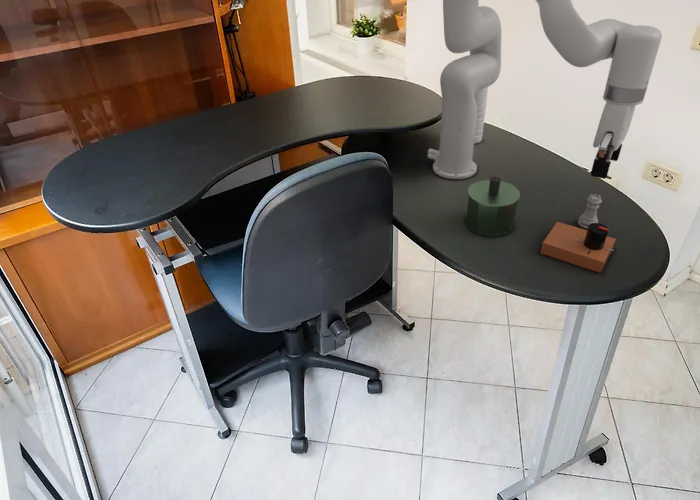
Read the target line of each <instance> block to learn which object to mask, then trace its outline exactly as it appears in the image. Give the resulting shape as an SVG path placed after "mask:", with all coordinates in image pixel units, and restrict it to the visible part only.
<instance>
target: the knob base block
mask: <svg viewBox="0 0 700 500" xmlns="http://www.w3.org/2000/svg"><path fill="white" fill-rule="evenodd" d="M587 230H588V229H584V228H582V227H577V226H575V225H571V224H567V223H563V222H560V221H557V222H555V224H554V225H553V227H552V229H551V230H550V232H549V233H547V236H546V237H545V239H544V240H543V241H542V243H541V249H540V254H542V255H545V256H548V257H550V258H554V259H557V260H558V261H559V260H560V261H563V262H566V263H568V264H572V265H575V266H578V267H581V268H583V269H587V270H590V271H593V272H596V273H599V274H601V273H602V271H603V269H604V267H605V265H606V264H607V262H608V259H609V258H610V255H611V254H612V252H614V247H615V244H616V241H617V238H614V237H611V236H608V235H607V237H606V240H605V243H604V247H603V248H602V249H601V250H592V249H589V248H587V247H586V246H585V245H584V240H585V237H586V233H587Z"/></svg>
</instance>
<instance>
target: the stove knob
mask: <svg viewBox="0 0 700 500" xmlns="http://www.w3.org/2000/svg"><path fill="white" fill-rule="evenodd" d="M586 230H587V233H586V237H585V240H584V245H585V246H586V247H587V248H589V249H592V250H601V249H602V248H603V247H604V243H605V240H606V237H607V236H608V235H609V230H610V229H609V227H608V226H607V225H605V224H604V223H600V222H598V223H592V224H590V225H589V226H588V229H586Z"/></svg>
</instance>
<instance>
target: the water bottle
mask: <svg viewBox="0 0 700 500" xmlns="http://www.w3.org/2000/svg"><path fill="white" fill-rule="evenodd" d="M488 91H489V86H488V87H486V88H484V89H482V90H479V91H477V92H475V94H474V98H475V102H476V105H477V121H476V130H475V139H474V145H475V144H479V143H481V142H482V140H483V132H484V126H485V118H486V117H485V115H486V108H487V99H488Z"/></svg>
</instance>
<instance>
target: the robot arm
mask: <svg viewBox="0 0 700 500" xmlns="http://www.w3.org/2000/svg"><path fill="white" fill-rule="evenodd" d="M479 1H480V0H442V13H443V15H442V18H443V36H444V43H445V47H446V49H447V50H448V51H449V52H450V53H453V54H464V53H467V52H469V55H468V54H467V55H464V56H462V57H459V58H457V59H454V60H452V61H451V62H449V63H448V64H446V65H445V66H444V68H443V69H442V70H441V73H440V76H439V77H440V78H439V86H440V93H441V120H440V121H441V122H440V132H439V133H440V134H439V135H440V136H439V149H438V150H436V149H434V148H428V150H427V159H430V160H434V162H433V164H432V170H433V172H434V173H435V174H436V175H437V176H439V177H441V178H444V179H447V180H448V179H449V180H464V179H468V178H471V177H472V176H474V175H475V174H476V173H477V170H478V165H477V163H476V162H474V161H473V157H474V156H473V155H474V147H475V144H474V139H475V130H476V121H477V105H476V102H475V98H474V94H475V92H477V91H479V90H482V89H484V88H486V87H488V88H489V87H491V86H492V85H493V84H495V83H496V82H497V81H498V78H499V76H500V74H501V69H502V68H501V67H502V24H501V20H500V17H499V15H498V13H497V12H496V10H494V9H493V8H492V7H490V6H485V5H481V6H480V3H479ZM535 2H536V3H537V5H538V8H539V18H540V22H541V25H542V29H543V32H544V35H545V36H546V38H547V40H548V41H549V43H550V44H551V45H552V46H553V48H554V49H555V50H556V51H557V53H558V54H559V55H560V57H562V58H563V60H564V61H565V62H567V63H568V64H569V65H571V66H573V67H576V68H586V67H587V68H588V67H589V66H592V65H595V64H597V63H598V62H602V61H605V60H608V59H611V62H610V66H609V71H608V75H607V80H606V82H605V87H604V90H603V95H602V99H603V101H605V104H604V106H603V110H602V113H601V116H600V119H599V123H598V125H597V129H596V133H595V136H594V139H593V142H592V143H593V144H592V147H593V148H595V149H596V148H598V149H597V152H596V155H595V158H594V159H593V163H592V167H591V171H590V176H591V177H595V178H599V179H604V180H605V179H606V178H607V177H608V173H609V170H610V166H611V163H612V161H614V162H617V161H618V160H619V158H620V155H621V150H622V147H623V142H624V141H625V139H626V137H627V134H628V132H629V129H630V126H631V123H632V119H633V116H634V113H635V109H636V106H638V105H640V104H642V103H644V101H645V100H644V99H645V96H646V93H647V89H648V85H649V82H650V79H651V76H652V72H653V69H654V66H655V63H656V59H657V55H658V51H659V48H660V45H661V41H662V35H663V34H662V32H661V30H660V29H659V28H657V27H655V26H650V25H641V24H639V25H633V24H630V23H627V22H623V21H621V20H618V19H615V18H614V19H613V18H605V19H601V20H598V21H595V22H592V23H589V24H588V23H586V22H585V20H584V19H583V18H582V17H581V15H580V14H579V13H578V11H577V10H576V8H575V7H574V4H573V2H572V0H535Z"/></svg>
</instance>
